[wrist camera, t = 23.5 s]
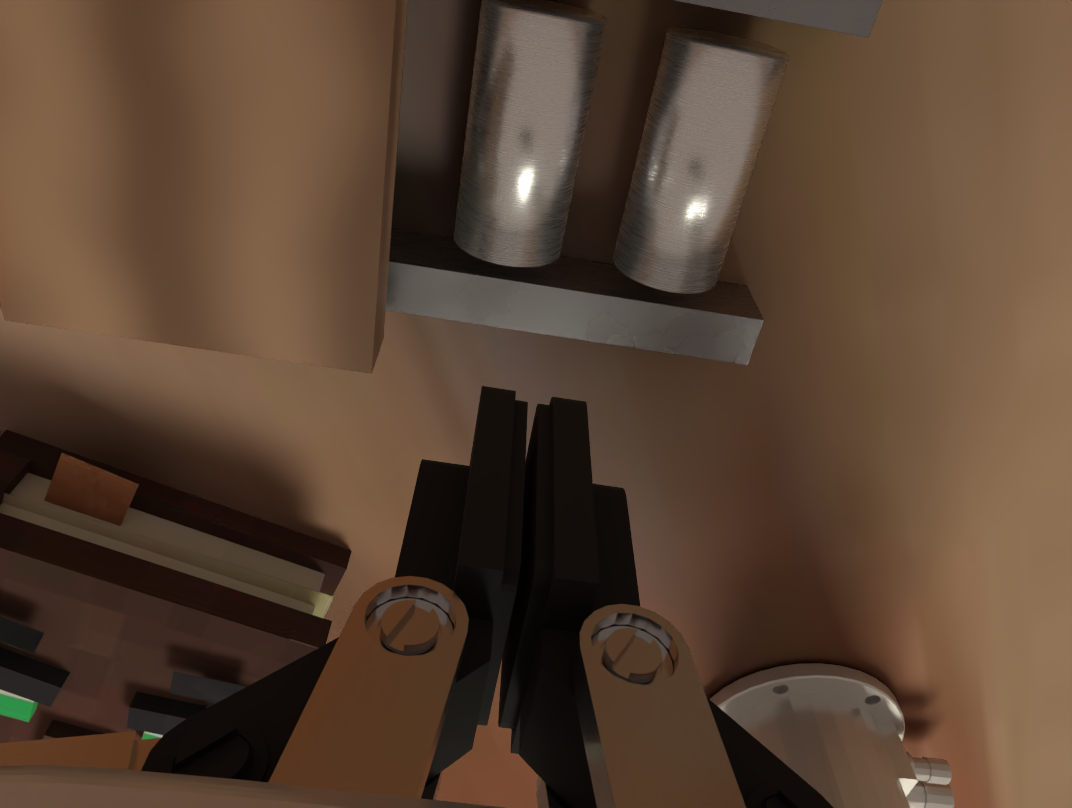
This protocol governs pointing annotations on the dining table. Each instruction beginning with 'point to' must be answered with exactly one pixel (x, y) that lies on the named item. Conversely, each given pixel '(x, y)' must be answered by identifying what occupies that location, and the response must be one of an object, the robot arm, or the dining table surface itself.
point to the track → (654, 195)
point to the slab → (202, 171)
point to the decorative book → (140, 598)
